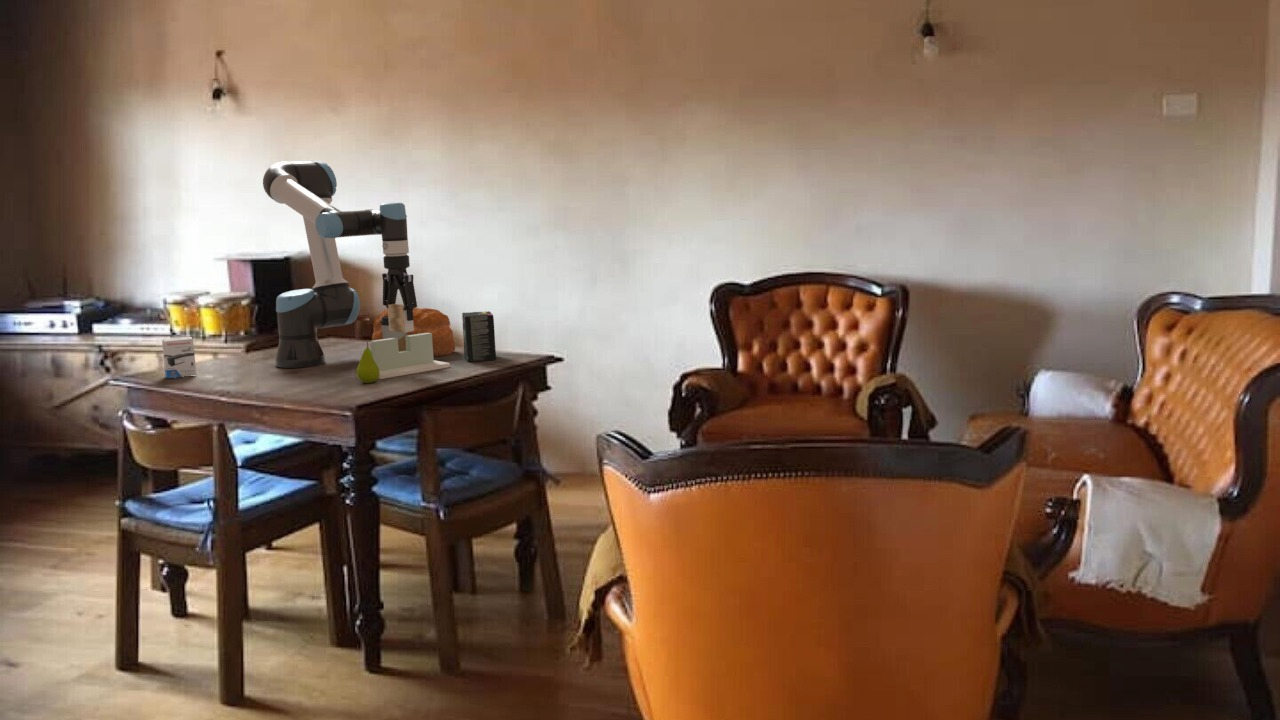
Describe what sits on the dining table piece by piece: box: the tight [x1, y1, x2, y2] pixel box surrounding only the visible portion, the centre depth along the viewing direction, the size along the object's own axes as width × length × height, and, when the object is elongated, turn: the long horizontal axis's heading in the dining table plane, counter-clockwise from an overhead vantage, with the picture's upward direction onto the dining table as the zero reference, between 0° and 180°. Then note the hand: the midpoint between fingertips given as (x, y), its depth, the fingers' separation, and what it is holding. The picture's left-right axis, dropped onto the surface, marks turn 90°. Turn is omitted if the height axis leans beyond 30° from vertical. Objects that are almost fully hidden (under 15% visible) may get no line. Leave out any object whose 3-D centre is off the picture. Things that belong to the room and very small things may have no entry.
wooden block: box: [387, 303, 413, 333], centre depth 332 cm, size 8×3×8 cm, turn 44°
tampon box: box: [461, 311, 497, 363], centre depth 351 cm, size 11×9×15 cm
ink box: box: [161, 336, 197, 379], centre depth 334 cm, size 8×5×12 cm, turn 117°
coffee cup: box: [381, 316, 407, 351], centre depth 346 cm, size 8×8×15 cm
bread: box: [371, 307, 456, 357], centre depth 364 cm, size 14×26×16 cm, turn 73°
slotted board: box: [369, 333, 451, 380], centre depth 334 cm, size 14×24×10 cm, turn 134°
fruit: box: [356, 340, 380, 384], centre depth 316 cm, size 6×6×12 cm
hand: (401, 330), depth 333 cm, fingers closed on wooden block, 8 cm apart
